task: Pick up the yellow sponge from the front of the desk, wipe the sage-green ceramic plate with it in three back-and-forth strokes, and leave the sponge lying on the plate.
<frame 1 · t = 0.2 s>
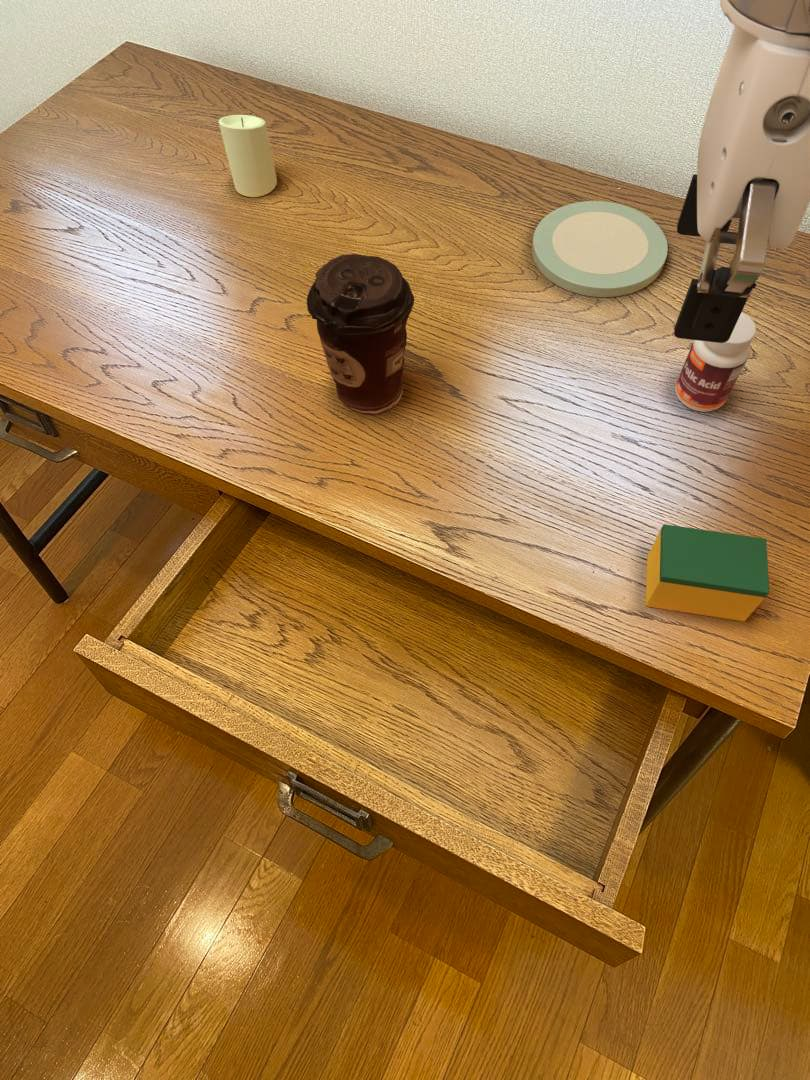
hand: (699, 283, 48), 20 cm above the table, tool pointing down, fingers open, 9 cm apart
candle: (256, 186, 88), on the table
plate: (597, 251, 79), on the table
sponge: (694, 588, 59), on the table
coffee cup: (368, 391, 71), on the table
pill bottle: (699, 395, 69), on the table
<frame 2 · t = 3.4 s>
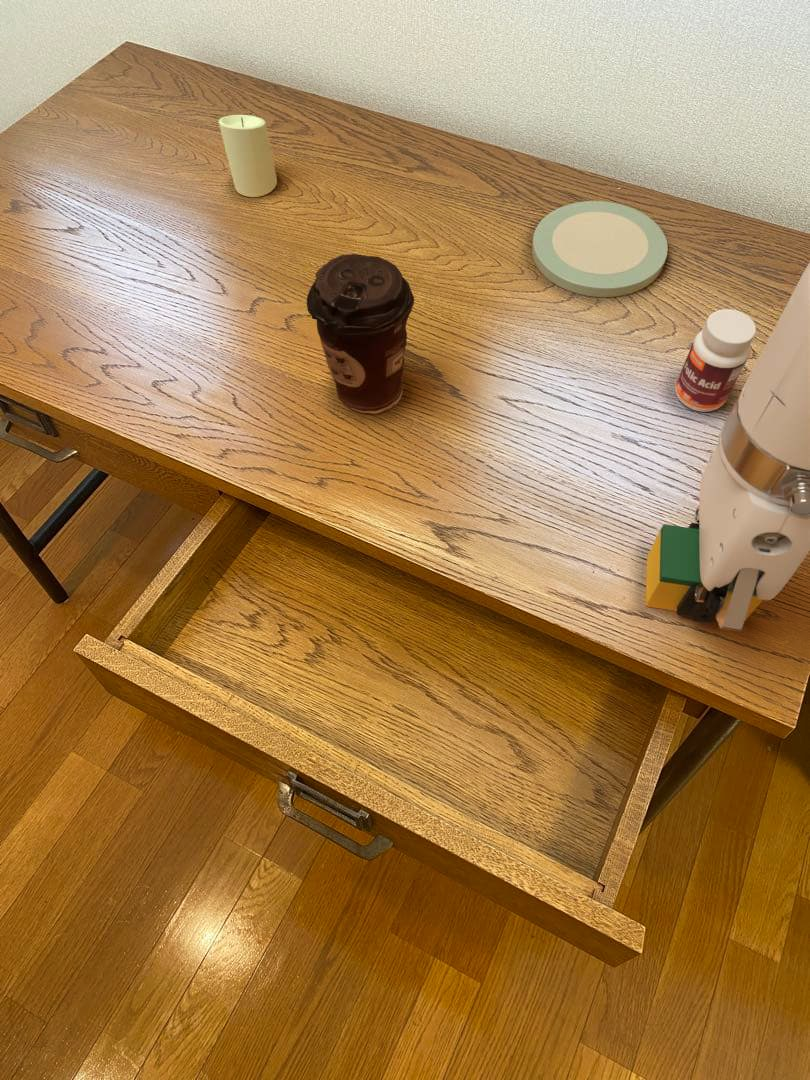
hand: (697, 583, 58), 1 cm above the table, tool pointing down, fingers closed on sponge, 4 cm apart
sponge: (694, 588, 59), on the table, touching gripper
everything else where it was.
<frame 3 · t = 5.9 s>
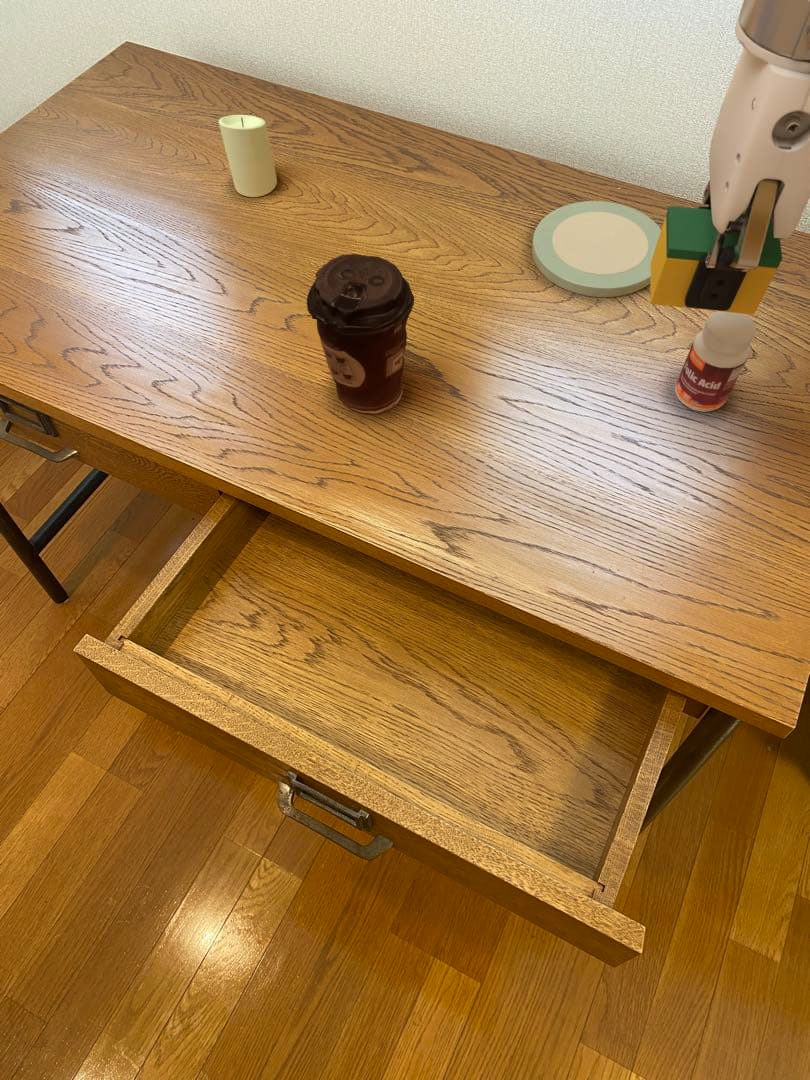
hand: (705, 278, 55), 15 cm above the table, tool pointing down, fingers closed on sponge, 4 cm apart
sponge: (700, 288, 56), point 14 cm above the table, touching gripper
everything else where it was.
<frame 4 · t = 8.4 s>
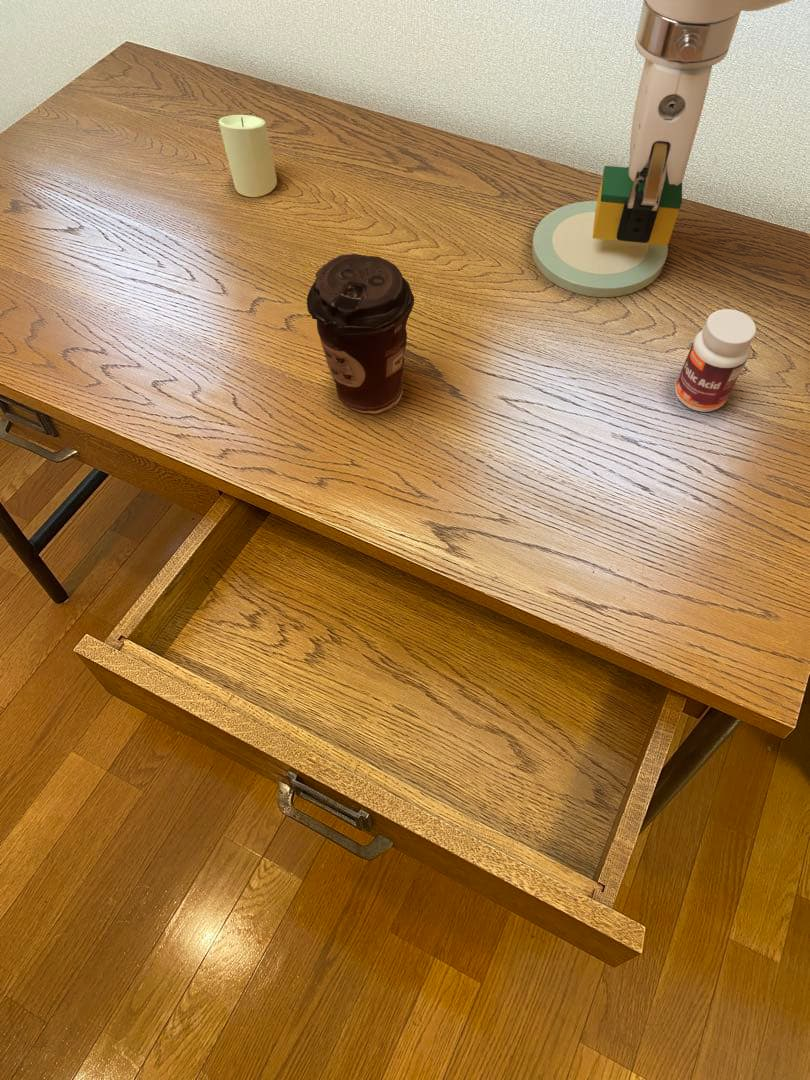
hand: (633, 220, 76), 4 cm above the table, tool pointing down, fingers closed on sponge, 4 cm apart
sponge: (630, 227, 76), point 3 cm above the table, touching gripper
everything else where it was.
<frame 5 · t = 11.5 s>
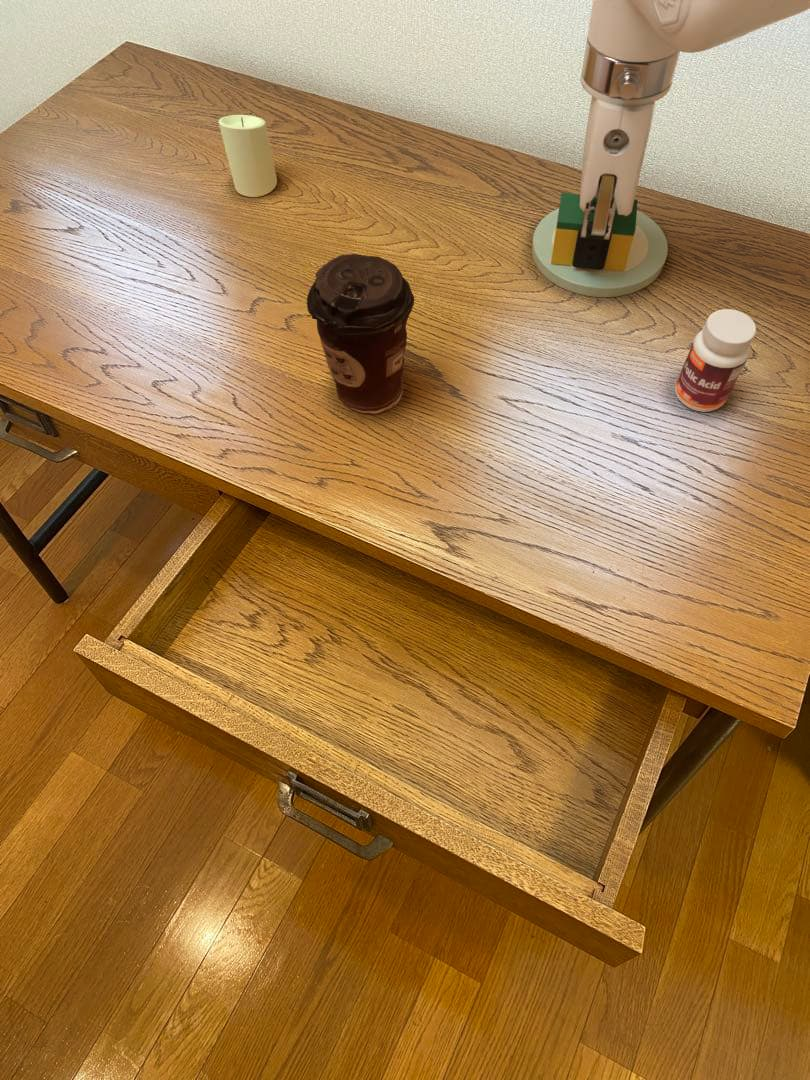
hand: (590, 247, 77), 2 cm above the table, tool pointing down, fingers closed on sponge, 4 cm apart
sponge: (588, 253, 77), point 1 cm above the table, touching gripper
everything else where it was.
when the fingers open (2 cm above the table, at t = 13.9 s): sponge stays where it is, resting on plate.
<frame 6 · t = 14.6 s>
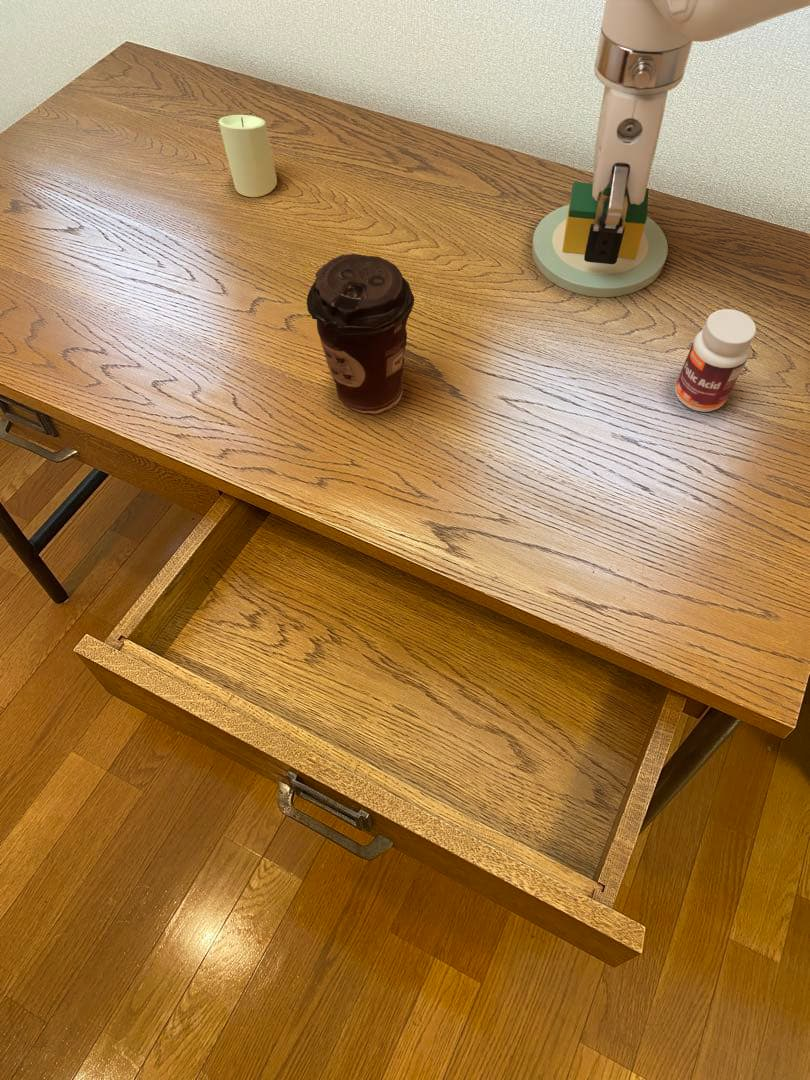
hand: (602, 230, 77), 3 cm above the table, tool pointing down, fingers open, 9 cm apart
sponge: (599, 241, 78), point 1 cm above the table, touching plate
everything else where it was.
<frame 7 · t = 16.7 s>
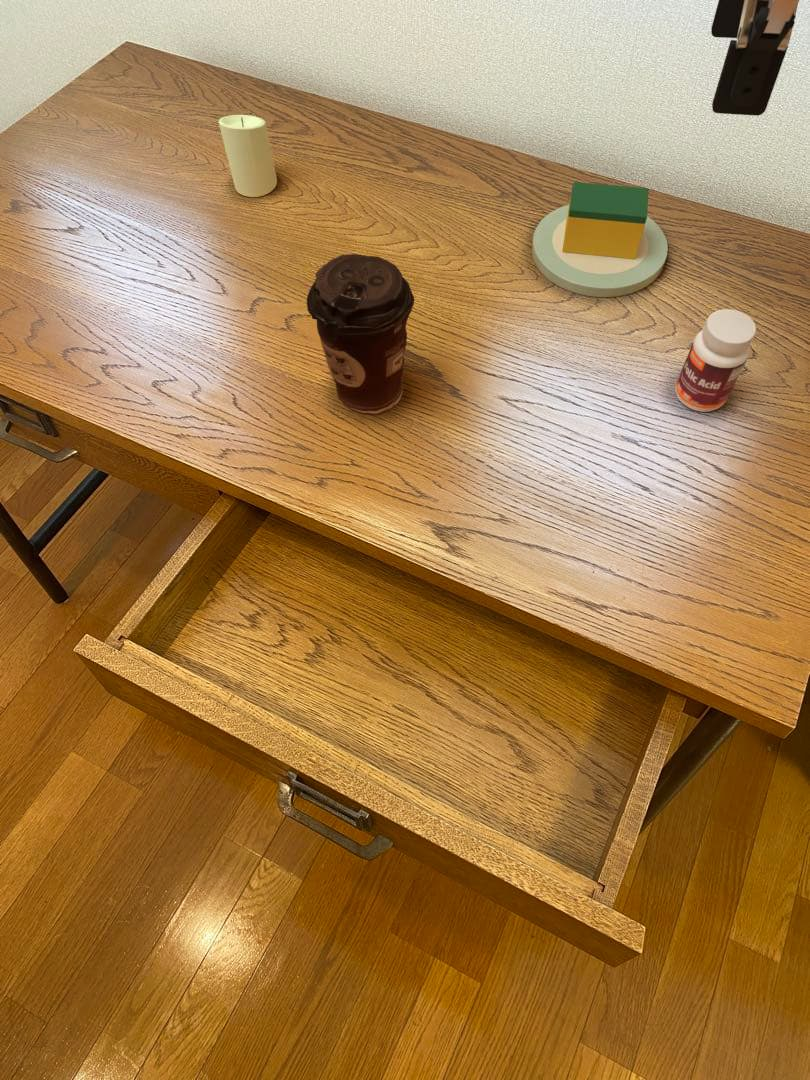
hand: (735, 72, 50), 26 cm above the table, tool pointing down, fingers open, 9 cm apart
nothing on the table moved.
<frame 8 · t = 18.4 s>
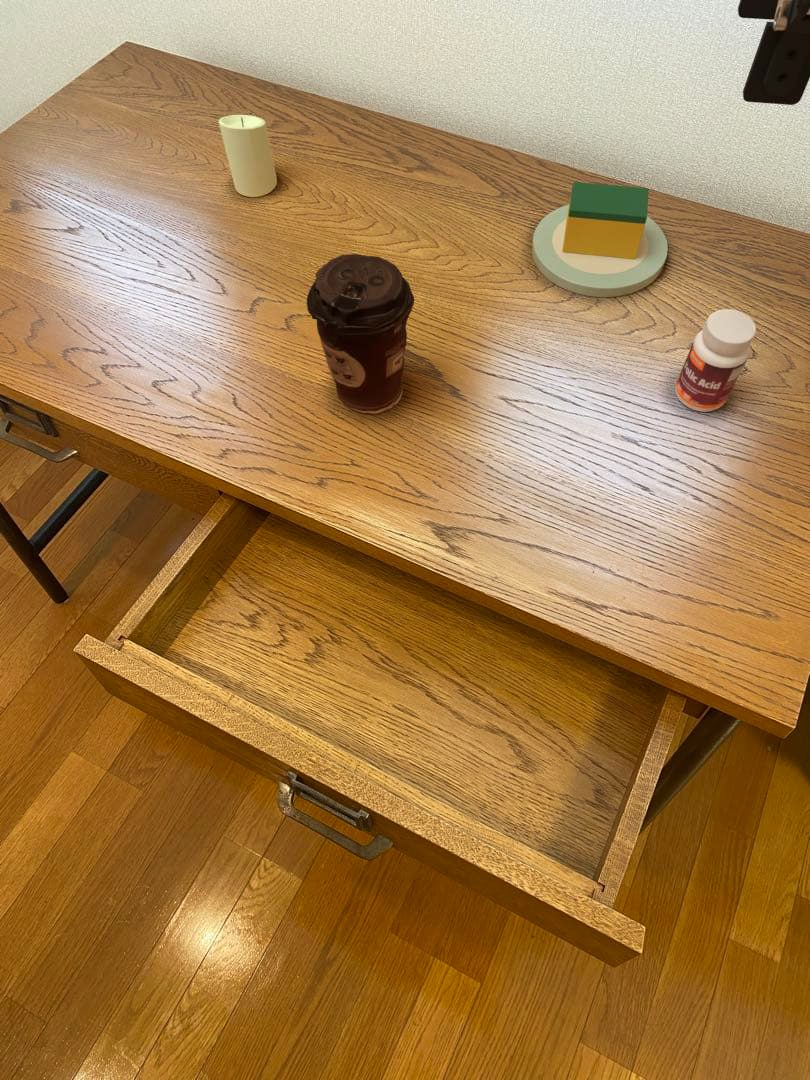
hand: (765, 56, 46), 28 cm above the table, tool pointing down, fingers open, 9 cm apart
nothing on the table moved.
at the end: sponge inside the target area on the plate (0.0 cm from its centre), point 1.2 cm above the plate's base; the gripper is holding nothing; sponge tilted 0° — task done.
